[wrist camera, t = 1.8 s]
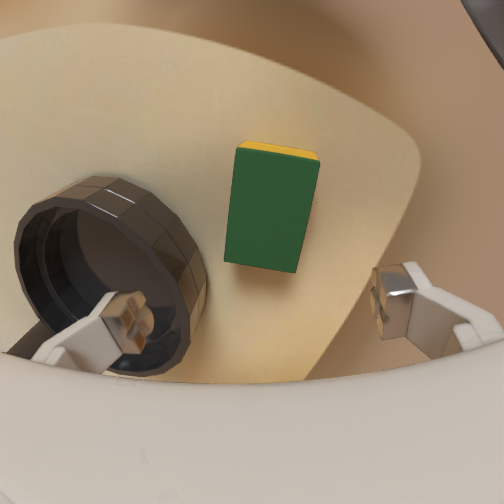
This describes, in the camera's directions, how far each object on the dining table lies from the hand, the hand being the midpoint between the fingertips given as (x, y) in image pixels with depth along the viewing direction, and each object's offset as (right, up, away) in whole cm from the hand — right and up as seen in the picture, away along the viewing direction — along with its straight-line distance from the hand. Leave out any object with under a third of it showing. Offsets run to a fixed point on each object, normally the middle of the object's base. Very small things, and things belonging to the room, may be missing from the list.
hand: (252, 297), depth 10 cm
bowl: (-12, 0, +14) cm, 18 cm away
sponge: (+1, +5, +10) cm, 11 cm away
